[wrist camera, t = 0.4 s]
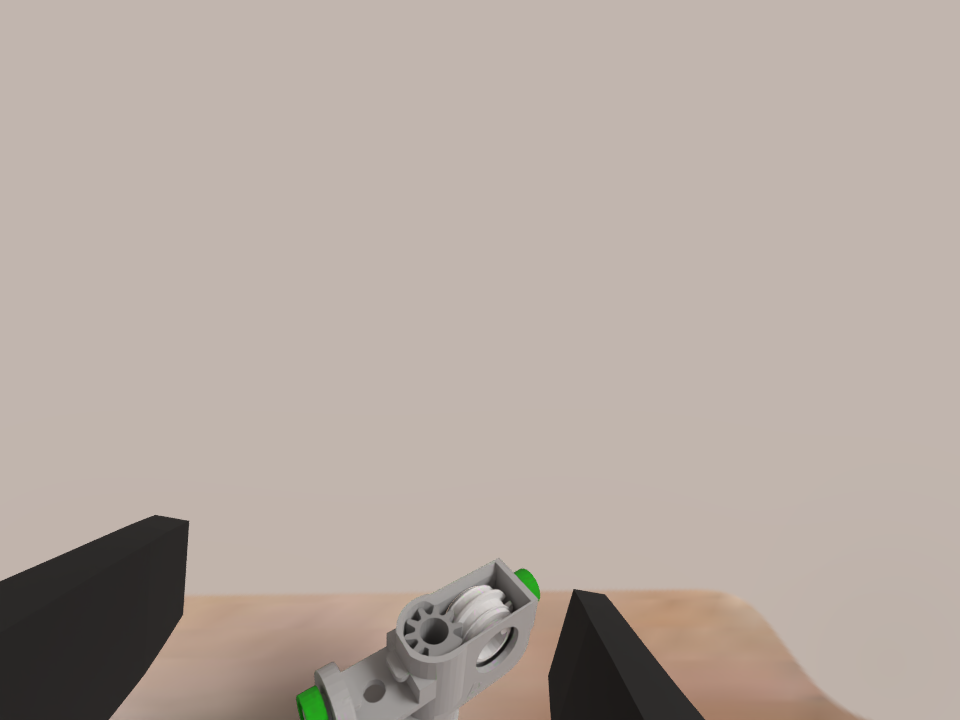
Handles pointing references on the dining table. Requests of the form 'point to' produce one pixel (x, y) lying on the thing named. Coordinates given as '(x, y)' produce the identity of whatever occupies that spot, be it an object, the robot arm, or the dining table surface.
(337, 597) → the dining table surface
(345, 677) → the mechanical component
